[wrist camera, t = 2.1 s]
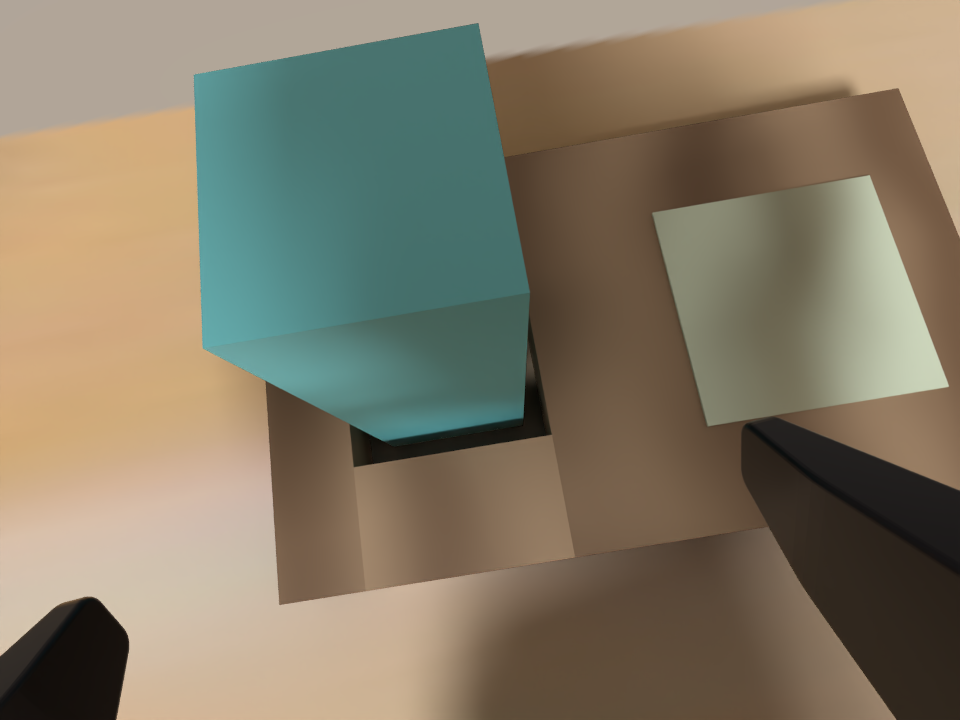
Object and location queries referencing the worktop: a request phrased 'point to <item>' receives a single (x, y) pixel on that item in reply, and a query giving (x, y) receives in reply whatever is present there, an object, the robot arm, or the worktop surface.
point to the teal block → (365, 235)
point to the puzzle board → (664, 351)
